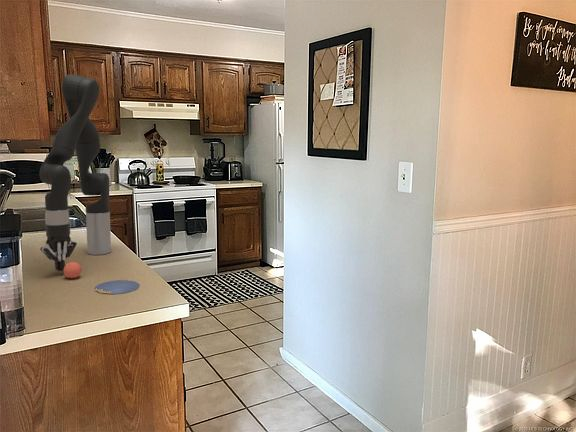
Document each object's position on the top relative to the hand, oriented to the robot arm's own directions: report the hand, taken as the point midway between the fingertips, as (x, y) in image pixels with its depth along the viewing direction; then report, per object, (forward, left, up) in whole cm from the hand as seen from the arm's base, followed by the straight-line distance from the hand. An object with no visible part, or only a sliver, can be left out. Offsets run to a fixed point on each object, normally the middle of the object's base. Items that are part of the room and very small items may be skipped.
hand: (60, 270), depth 168 cm
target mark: (+19, +19, -2) cm, 27 cm away
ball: (+5, +4, +1) cm, 7 cm away
